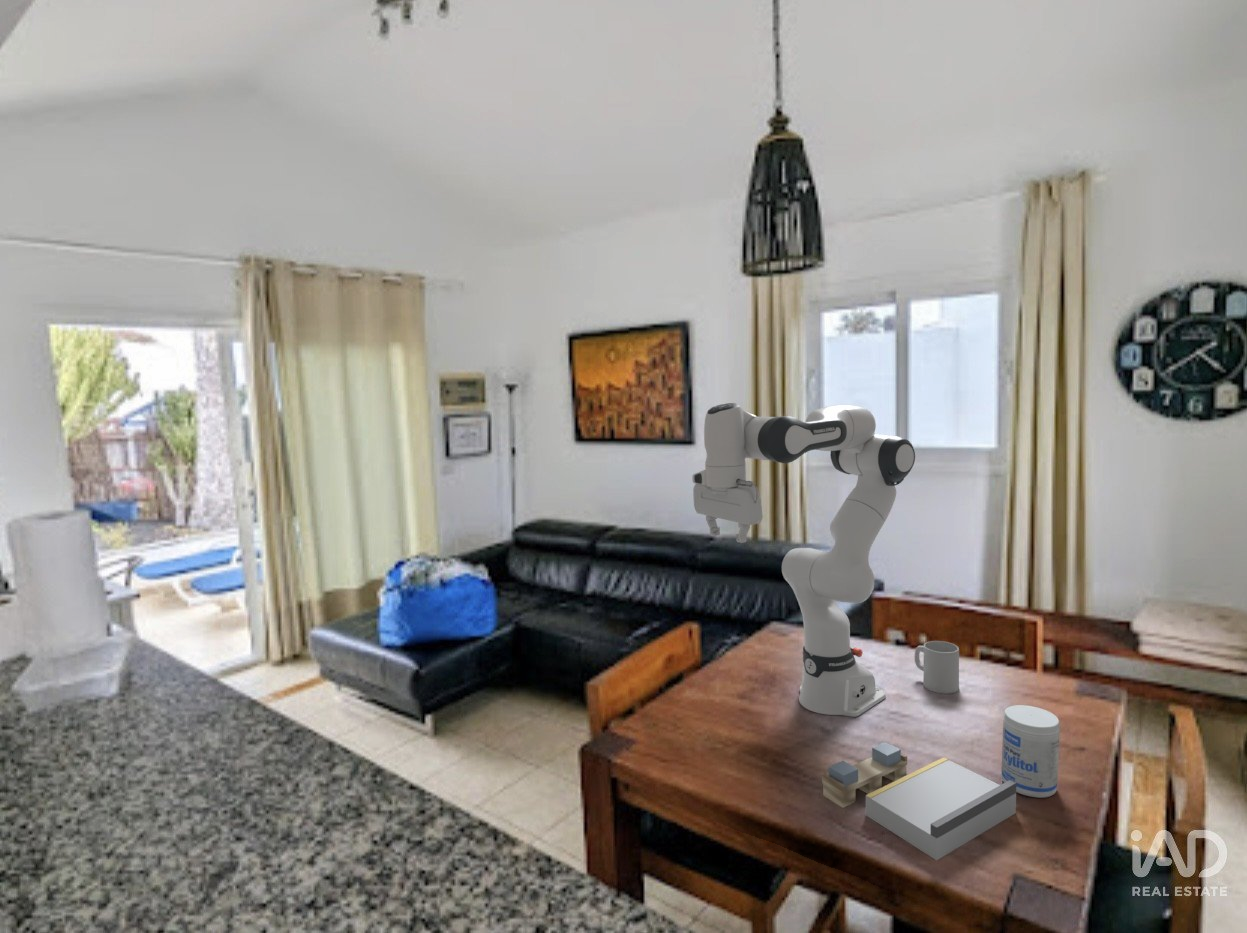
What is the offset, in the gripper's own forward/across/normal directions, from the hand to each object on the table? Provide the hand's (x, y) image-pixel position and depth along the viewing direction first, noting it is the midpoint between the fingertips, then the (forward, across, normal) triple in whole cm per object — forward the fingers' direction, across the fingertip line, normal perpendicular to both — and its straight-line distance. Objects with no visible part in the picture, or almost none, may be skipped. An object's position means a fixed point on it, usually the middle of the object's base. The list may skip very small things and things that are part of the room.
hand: (727, 538), depth 155 cm
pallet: (+48, -30, -10) cm, 57 cm away
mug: (+48, -9, -60) cm, 78 cm away
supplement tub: (+48, -48, -36) cm, 76 cm away
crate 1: (+44, -30, -3) cm, 53 cm away
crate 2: (+44, -30, -16) cm, 55 cm away
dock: (+48, -44, -14) cm, 66 cm away
